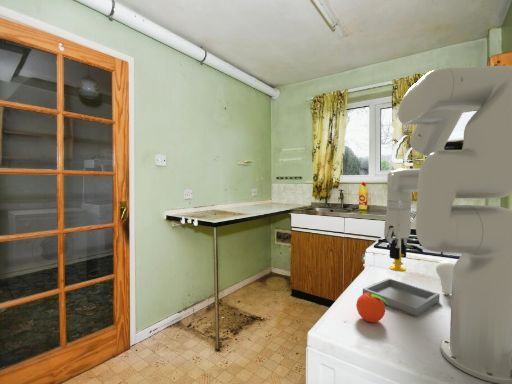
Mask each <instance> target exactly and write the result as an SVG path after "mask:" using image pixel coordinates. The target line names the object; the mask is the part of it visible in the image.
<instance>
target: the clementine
mask: <svg viewBox="0 0 512 384" xmlns="http://www.w3.org/2000/svg"><path fill="white" fill-rule="evenodd" d="M381 299H382V300H383V301H385V300H384V299H383V298H381V297H380V296H377V295H375V294H372V293H365V294H363V293H362V294H361V295H360V296H359V297H358V298H357V300H356V306H355V307H356V311H357V313H358V315H359V316H360V317H361V318H362V319H363V320H364V321H367V322H369V323H377V322H380V321H381V320H382V319H383V318H384V317H385V313H386V306H385V305H384V303H383V301H382V300H381ZM385 302H386V301H385ZM386 303H387V302H386ZM387 304H388V303H387ZM388 306H389V305H388ZM388 306H387V307H388ZM388 308H389V309H391V307H388Z"/></svg>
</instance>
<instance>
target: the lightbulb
mask: <svg viewBox="0 0 512 384" xmlns="http://www.w3.org/2000/svg"><path fill="white" fill-rule="evenodd" d="M455 264H456V262H453V261H450V260H442V261H440V262H438V263H437V264H436V267H435V271H436V273H437V275H438V277H439V279H440V285H441V292H442V293H444V295H445V296H449V295H452V274H453V268H454V266H455Z"/></svg>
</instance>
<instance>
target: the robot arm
mask: <svg viewBox="0 0 512 384" xmlns="http://www.w3.org/2000/svg"><path fill="white" fill-rule="evenodd" d="M464 111H475V113H474V114H473V115H472V116H471V117H470V119H469V120H468V121H467V123H466V124H465V127H464V129H463V142H462V147H461V149H445V146H446V144H447V142H448V141H449V139H450V137H451V136H452V133H453V131H454V130H455V128H456V126H457V125H458V123H459V121H460V118H461V117H462V115H463V113H464ZM397 117H398V118H397V119H398V120H399V122H400V123H401V124H403V125H415V128H414V130H413V133H412V135H411V137H410V139H409V144H410V147H411V149H412V150H413V151H415V152H416V153H418V154H420V155H421V156H422V155H423V156H425V159H424V160H423V161H422V164H421V166H420V168H397V169H395V170H392V171H389V172H388V173H387V177H386V178H387V180H386V181H387V183H386V185H387V188H386V189H387V192H386V193H387V194H386V195H387V196H386V213H385V219H384V227H383V228H384V230H383V231H384V232H383V234H384V235H383V236H384V237H385V238H386V241H387V242H388V247H389V259H393V260H394V259H397V260H399V259H400V248H398V247H399V239H401V254H404V256H401V258H407V245H408V240H409V237H410V236H411V229H412V228H411V227H412V225H411V211H412V193H417V195H416V212H415V233H416V234H415V235H416V238H417V240H418V242H419V244H420V245H421V247H422V248H424V249H425V250H428V251H431V252H436V253H449V254H451V253H454V254H455V253H457V254H461V255H460V256H459V258H458V259H457V261H456V262H455V266H454V268H453V274H452V293H451V295H450V296H451V297H450V298H451V299H450V302H451V303H450V324H449V325H450V326H449V327H450V329H449V337H447V338H445V339H443V340H441V342H440V352H441V354H442V355H443V357H444V358H445V359H446V360H447V362H449V363H450V364H452V365H453V366H455V367H456V368H458V369H459V370H461V371H463V372H464V373H466V374H469V375H470V376H472V377H475V378H478V379H480V380H483V381H486V382H489V383H494V384H512V210H511V209H509V208H506V207H501V206H498V205H487V204H486V205H485V204H482V205H481V204H454V200H455V199H482V200H483V199H501V198H505V197H508V196H511V195H512V65H482V66H467V67H449V68H448V67H447V68H438V69H437V68H436V69H433V70H431V71H429V72H426V73H425V75H423V76H422V77H421V78H419V79H418V80H417V82H416V83H414V84H413V85H412V86H411V87H410V88H409V89H408V90H407V91H406V93H405V94H404V95H403V97H402V99H401V101H400V102H399V105H398V111H397ZM394 237H395V238H394Z"/></svg>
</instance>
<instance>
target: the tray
mask: <svg viewBox="0 0 512 384" xmlns="http://www.w3.org/2000/svg"><path fill="white" fill-rule="evenodd" d="M365 293H372V294H375V295H377V296H380V297H381V298H383V299H384V300H385V301H386V302H387V303H388V304H387V303H386V302H385V301H383V300H382V299H381V300H382V301H383V303H384V305H386V306H385V307H388V308H389V307H390V309H393V310H395V311H398V312H401V313H403V314H406V315H409V316H411V317H413V318H417V317H419V316H420V315H422V314H424V313H425V312H427V311H428V310H430V309H431V308H432V307H434V306H436V305H437V304H439V303H440V297H441V296H440V293H439V292H438V293H437V292H435V291H431V290H428V289H424V288H421V287H418V286H415V285H412V284H408V283H405V282H402V281H399V280H398V281H397V280H395V279H392V278H386V279H384V280H383V279H382V280H381V281H378V282H376V283H373V284H371V285H368V286H365V287H363V288H362V295H363V294H365ZM388 305H389V306H388Z"/></svg>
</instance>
